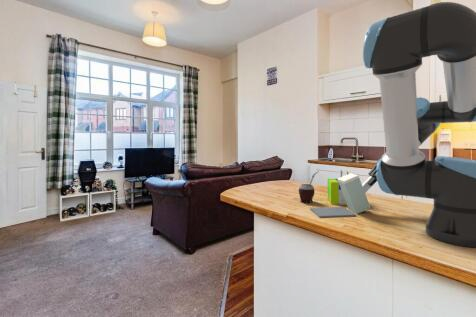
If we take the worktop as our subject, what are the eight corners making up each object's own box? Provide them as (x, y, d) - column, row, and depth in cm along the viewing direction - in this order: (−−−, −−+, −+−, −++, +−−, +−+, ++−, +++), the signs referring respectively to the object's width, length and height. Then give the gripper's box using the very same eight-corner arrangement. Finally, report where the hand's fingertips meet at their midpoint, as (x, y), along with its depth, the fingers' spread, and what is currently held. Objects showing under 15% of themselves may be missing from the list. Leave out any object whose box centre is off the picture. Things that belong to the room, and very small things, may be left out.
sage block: (362, 204, 104) (350, 173, 103) (370, 208, 98) (358, 175, 97) (349, 209, 104) (337, 178, 103) (356, 214, 98) (343, 181, 97)
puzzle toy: (354, 204, 112) (354, 182, 111) (330, 204, 114) (330, 182, 113) (349, 199, 122) (349, 178, 121) (327, 198, 124) (327, 178, 123)
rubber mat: (342, 208, 107) (342, 206, 107) (355, 216, 96) (355, 214, 96) (310, 209, 106) (310, 208, 106) (319, 217, 95) (319, 216, 95)
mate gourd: (296, 200, 121) (296, 169, 120) (311, 199, 123) (311, 168, 122) (304, 204, 114) (303, 171, 113) (319, 203, 116) (319, 170, 114)
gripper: (422, 155, 94) (377, 200, 95) (399, 153, 107) (360, 193, 108) (408, 141, 94) (363, 187, 95) (387, 141, 107) (347, 181, 108)
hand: (361, 190), depth 101 cm, fingers closed
